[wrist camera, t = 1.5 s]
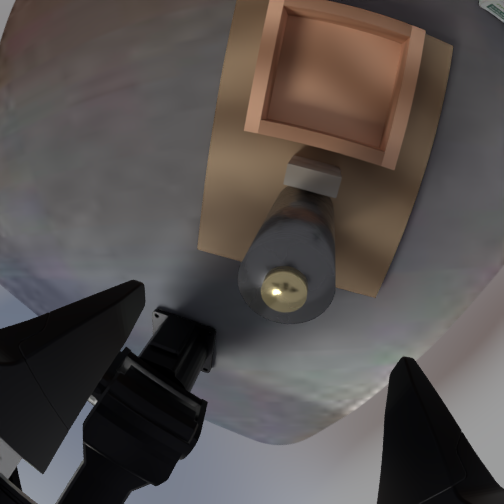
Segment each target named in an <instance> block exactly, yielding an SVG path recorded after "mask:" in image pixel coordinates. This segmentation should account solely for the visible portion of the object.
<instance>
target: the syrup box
mask: <svg viewBox="0 0 504 504" xmlns="http://www.w3.org/2000/svg"><path fill="white" fill-rule="evenodd" d="M479 6H480V7H482V8H483V9H485V10H487V11H488V12H490V13H491V14H493V15H494V16H496V17H497V18H498V19H499V20H501V21H502V22H503V23H504V0H479Z"/></svg>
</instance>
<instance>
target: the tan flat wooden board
mask: <svg viewBox="0 0 504 504" xmlns="http://www.w3.org/2000/svg"><path fill="white" fill-rule="evenodd" d="M425 32H426V31H425V30H423V29H420V28H418V27H415V26H413V25H410V24H407V23H405V22H402V21H399V20H396V19H393V18H390V17H387V16H384V15H381V14H378V13H374V12H371V11H368V10H364V9H360V8H357V7H353V6H349V5H345V4H341V3H336V2H332V1H327V0H237V1H236V6H235V10H234V15H233V20H232V24H231V29H230V34H229V39H228V44H227V49H226V54H225V59H224V65H223V70H222V76H221V81H220V87H219V93H218V98H217V104H216V111H215V117H214V123H213V129H212V136H211V143H210V150H209V157H208V164H207V171H206V179H205V186H204V194H203V202H202V211H201V220H200V229H199V238H198V248H197V249H198V250H202V251H205V252H209V253H212V254H216V255H219V256H223V257H227V258H230V259H234V260H237V261H241V262H242V261H243V259H244V257H245V255H246V253H247V252H248V250H249V248H250V246H251V244H252V242H253V240H254V239H255V237H256V235H257V233H258V231H259V229H260V228H261V226H262V224H263V222H264V220H265V218H266V217H267V215H268V213H269V211H270V209H271V207H272V206H273V204H274V202H275V200H276V198H277V197H278V195H279V193H280V192H281V191H282V190H283V189H284V188H286V187H287V186H292V187H296V188H300V189H303V190H307V191H311V192H315V193H318V194H322V195H326V196H329V197H330V198H331V200H332V203H333V207H334V224H335V268H336V288H340V289H344V290H347V291H351V292H355V293H359V294H363V295H366V296H370V297H374V298H376V295H377V293H378V291H379V289H380V287H381V285H382V282H383V280H384V278H385V276H386V273H387V271H388V269H389V267H390V264H391V262H392V259H393V257H394V255H395V252H396V250H397V247H398V245H399V242H400V240H401V237H402V235H403V232H404V230H405V227H406V224H407V222H408V219H409V216H410V214H411V211H412V208H413V205H414V202H415V200H416V197H417V194H418V191H419V188H420V185H421V182H422V179H423V175H424V172H425V169H426V166H427V162H428V159H429V156H430V152H431V149H432V145H433V141H434V138H435V134H436V130H437V126H438V122H439V118H440V114H441V110H442V105H443V101H444V96H445V91H446V86H447V81H448V76H449V70H450V64H451V58H452V52H453V46H452V45H449V44H447V43H445V42H443V41H441V40H439V39H436V38H434V37H432V36H429V35H427V34H425Z"/></svg>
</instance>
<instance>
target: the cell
mask: <svg viewBox="0 0 504 504" xmlns="http://www.w3.org/2000/svg"><path fill="white" fill-rule="evenodd" d="M238 286H239V290H240V293H241V295H242V297H243V299H244V300H245V302H246V303H247V304H248V306H249V307H250V308H251V309H252V310H254V311H255V312H256V313H257V314H259V315H260V316H262V317H264V318H266V319H268V320H271V321H274V322H278V323H283V324H298V323H303V322H307V321H310V320H312V319H314V318H316V317H317V316H319V315H320V314H322V313H323V312H324V311H325V310H326V309H327V308H328V306H329V305H330V304H331V302H332V300H333V297H334V294H335V288H336V268H335V224H334V207H333V203H332V200H331V198H330V197H329V196H326V195H322V194H318V193H315V192H311V191H307V190H303V189H300V188H296V187H292V186H287V187H286V188H284V189H283V190H282V191H281V192H280V193H279V195H278V197H277V198H276V200H275V202H274V204H273V206H272V207H271V209H270V211H269V213H268V215H267V217H266V218H265V220H264V222H263V224H262V226H261V228H260V229H259V231H258V233H257V235H256V237H255V239H254V240H253V242H252V244H251V246H250V248H249V250H248V252H247V253H246V255H245V257H244V259H243V261H242V263H241V265H240V267H239V271H238Z"/></svg>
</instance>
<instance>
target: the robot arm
mask: <svg viewBox="0 0 504 504" xmlns="http://www.w3.org/2000/svg"><path fill="white" fill-rule="evenodd" d="M144 306H145V287H144V284H143V283H142V282H139V281H136V280H130V281H128V282H125V283H123V284H120V285H117V286H115V287H112V288H110V289H107V290H105V291H102V292H99V293H97V294H94V295H92V296H89V297H87V298H84V299H81V300H79V301H76V302H74V303H71V304H69V305H66V306H64V307H61V308H59V309H56V310H54V311H51V312H50V313H46V314H43V315H41V316H38V317H36V318H33V319H30V320H28V321H24V322H21V323H18V324H15V325H12V326H8V327H5V328H2V329H0V504H37V503H36V502H35V501H33V500H32V499H30V497H28V496H27V495H26V494H25V493H23V492H22V488H21V484H20V479H19V475H18V470H17V465H18V463H19V462H20V460H21V459H22V458H23V459H24V460H25V461H27V462H28V463H29V464H30V465H31V466H33V467H34V468H35V469H37V470H38V471H39V472H40V473H42V474H44V472H45V471H46V469H47V467H48V466H49V464H50V462H51V460H52V459H53V457H54V455H55V453H56V452H57V450H58V448H59V446H60V445H61V443H62V441H63V440H64V438H65V436H66V435H67V433H68V431H69V429H70V428H71V426H72V425H73V423H74V421H75V420H76V418H77V416H78V415H79V413H80V411H81V410H82V408H83V407H84V405H85V403H86V402H87V401H89V402H90V403H91V404H92V405H94V407H93V409H92V410H91V412H90V413H89V415H88V416H87V418H86V419H85V421H84V423H83V454H84V459H83V461H82V462H81V464H80V466H79V467H78V469H77V470H76V472H75V473H74V475H73V477H72V478H71V480H70V481H69V483H68V484H67V486H66V488H65V489H64V491H63V493H62V494H61V496H60V498H59V499H58V500H57V502H56V504H124V502H125V501H126V499H127V497H128V496H129V494H130V493H131V492H132V491H134V490H136V489H139V488H141V487H144V486H146V485H149V484H152V485H154V486H158V485H160V484H162V483H163V482H165V481H166V480H167V479H168V478H169V476H170V474H171V473H172V471H173V469H174V467H175V465H176V463H177V462H178V460H182V459H184V458H185V457H186V456H187V455H188V454H189V453H190V452H191V451H192V449H193V448H194V446H195V445H196V443H197V441H198V439H199V436H200V434H201V430H202V425H203V421H204V416H205V412H206V408H207V403H208V402H207V401H205V400H203V399H200V398H198V397H197V396H195V395H193V394H192V393H190V392H191V389H192V387H193V385H194V383H195V381H196V379H197V377H198V375H199V373H200V371H202V372H206V373H209V372H210V370H211V365H212V358H213V351H214V344H215V337H216V331H215V329H214V328H212V327H208V326H205V325H202V324H199V323H196V322H193V321H190V320H187V319H184V318H181V317H178V316H176V315H173V314H170V313H167V312H164V311H161V310H159V309H155V310H154V311H153V313H152V322H153V336H152V338H151V339H150V340H149V342H148V343H147V345H146V346H145V348H144V349H143V350H142V352H141V353H140V355H139V356H136V355H135V354H134V353H132V352H131V350H130V349H129V348H127V347H125V349H124V350H123V351H122V352H121V351H120V350H121V348H122V347H123V345H124V343H125V342H126V340H127V338H128V337H129V335H130V333H131V331H132V329H133V327H134V325H135V323H136V321H137V320H138V318H139V316H140V314H141V312H142V310H143V308H144ZM157 314H158V315H157ZM210 332H211V333H210ZM384 419H385V420H384V437H383V452H382V465H381V474H380V483H379V492H378V499H377V504H504V489H503V488H502V487H500V485H499V484H498V483H497V482H496V481H495V480H494V478H493V477H492V475H491V474H490V472H489V471H488V470H487V468H486V467H485V465H484V464H483V463H482V461H481V460H480V458H479V457H478V455H477V454H476V453H475V451H474V450H473V448H472V446H471V445H470V443H469V442H468V440H467V439H466V437H465V435H464V434H463V433H462V432H461V429H460V427H459V426H458V424H457V423H456V421H455V419H454V418H453V416H452V415H451V413H450V412H449V410H448V408H447V407H446V405H445V404H444V402H443V401H442V399H441V398H440V396H439V395H438V393H437V392H436V390H435V389H434V387H433V386H432V384H431V383H430V381H429V380H428V378H427V377H426V375H425V374H424V373H423V371H422V370H421V368H420V367H419V365H418V364H417V362H416V361H415V360H414V359H413V358H410V357H402V358H401V359H400V360H399V362H398V363H397V364H396V366H395V367H394V369H393V370H392V372H391V374H390V377H389V386H388V394H387V402H386V409H385V418H384Z"/></svg>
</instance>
